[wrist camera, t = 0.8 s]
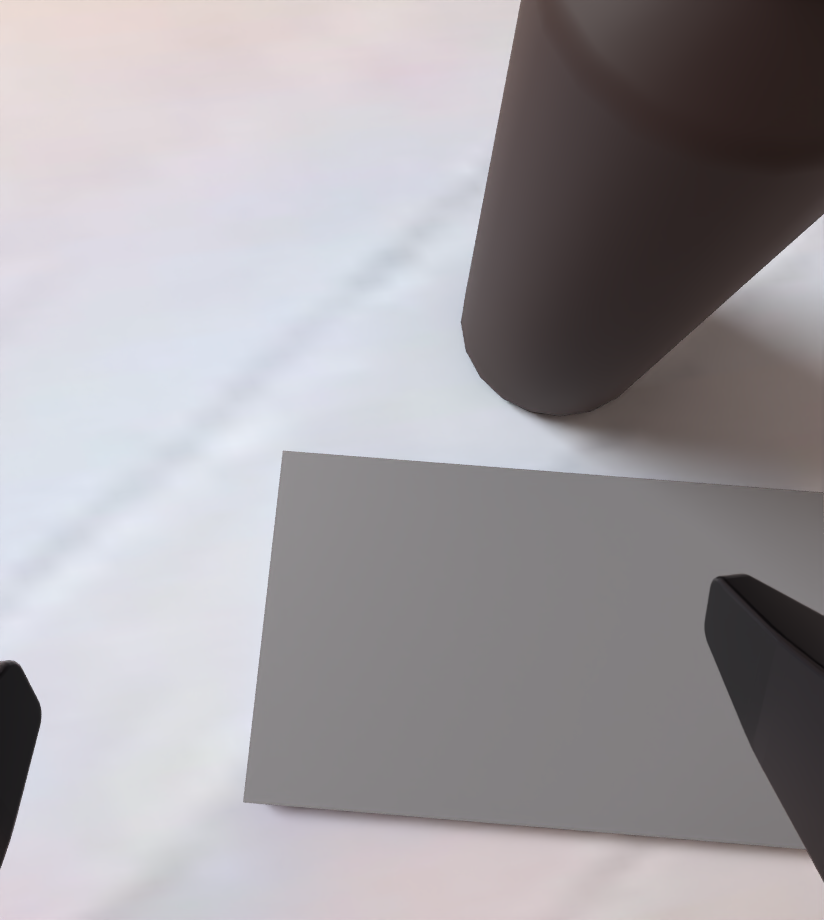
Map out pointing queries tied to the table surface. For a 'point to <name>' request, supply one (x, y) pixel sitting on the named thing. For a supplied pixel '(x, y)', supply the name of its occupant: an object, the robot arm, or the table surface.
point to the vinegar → (637, 184)
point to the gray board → (516, 646)
